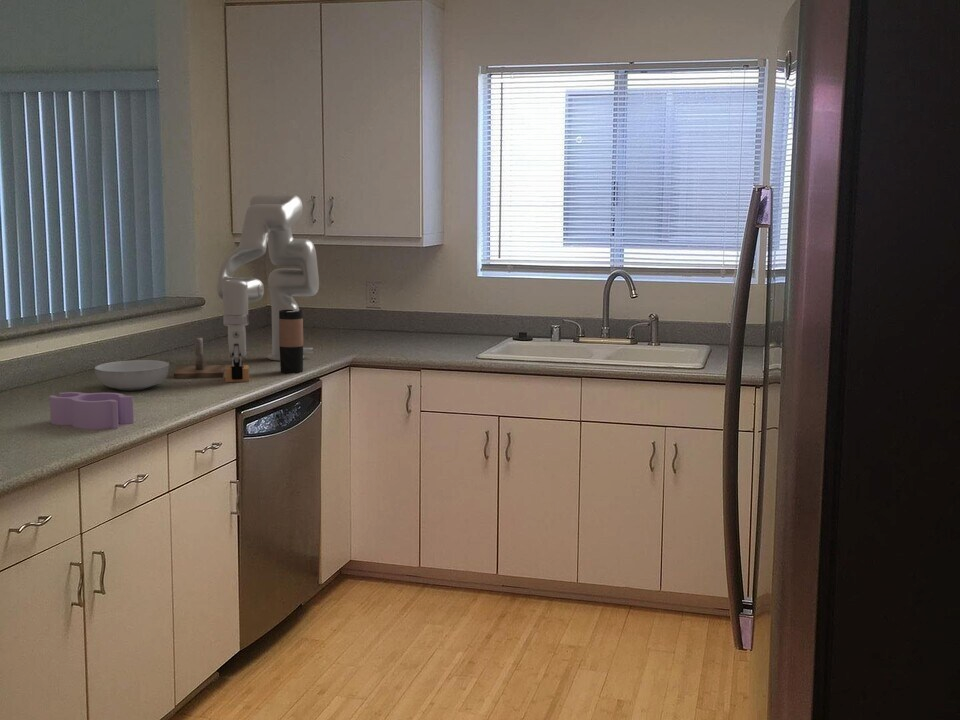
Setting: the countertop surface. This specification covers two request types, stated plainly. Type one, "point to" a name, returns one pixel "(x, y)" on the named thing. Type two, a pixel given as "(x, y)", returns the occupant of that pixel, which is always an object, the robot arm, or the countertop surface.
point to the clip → (91, 410)
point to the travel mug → (291, 341)
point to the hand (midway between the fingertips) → (237, 376)
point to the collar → (229, 379)
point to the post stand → (199, 366)
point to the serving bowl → (132, 374)
